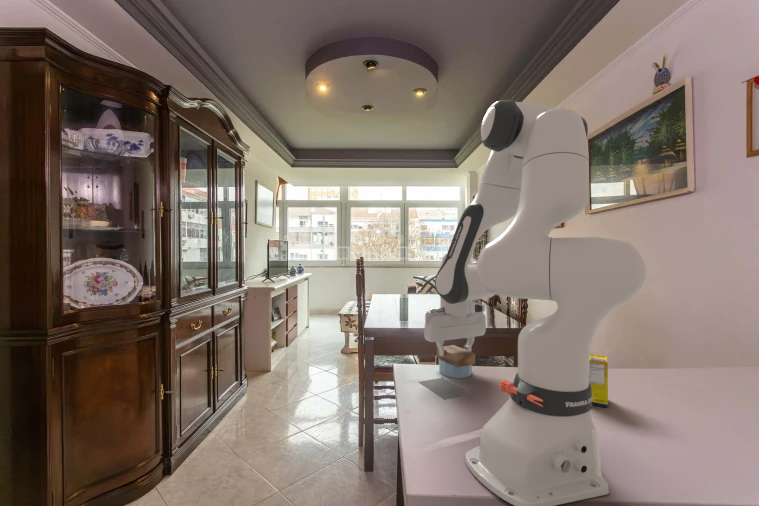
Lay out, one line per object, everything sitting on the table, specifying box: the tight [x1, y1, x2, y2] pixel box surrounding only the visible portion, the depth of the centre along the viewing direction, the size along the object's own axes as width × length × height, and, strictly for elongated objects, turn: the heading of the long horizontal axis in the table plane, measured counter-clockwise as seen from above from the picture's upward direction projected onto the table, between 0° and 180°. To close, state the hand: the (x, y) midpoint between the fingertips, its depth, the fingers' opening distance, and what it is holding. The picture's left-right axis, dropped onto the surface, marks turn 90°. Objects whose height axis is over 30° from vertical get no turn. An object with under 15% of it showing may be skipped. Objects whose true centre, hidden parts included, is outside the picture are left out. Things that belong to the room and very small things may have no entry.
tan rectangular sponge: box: [436, 344, 476, 367], centre depth 100 cm, size 6×10×3 cm, turn 25°
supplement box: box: [589, 353, 609, 409], centre depth 83 cm, size 6×6×11 cm
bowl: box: [438, 358, 473, 379], centre depth 100 cm, size 9×9×4 cm
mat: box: [418, 377, 471, 400], centre depth 88 cm, size 8×12×1 cm, turn 25°
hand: (455, 353), depth 100 cm, fingers open, 8 cm apart
